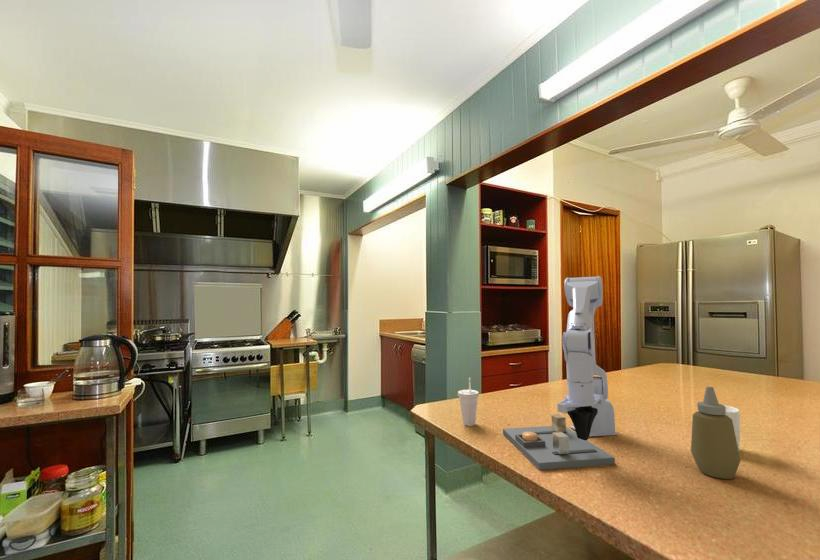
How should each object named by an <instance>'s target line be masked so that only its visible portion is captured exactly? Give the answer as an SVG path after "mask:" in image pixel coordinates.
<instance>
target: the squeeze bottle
mask: <svg viewBox="0 0 820 560" xmlns="http://www.w3.org/2000/svg"><path fill="white" fill-rule="evenodd" d="M696 405H697V411H696V412H694V413H693V414H692V421H691V426H692V427H691V439H690V440H691V441H690V442H691V443H690V452H691V455H692V456H693V459H694V462H695V464H696V466H697V468H698V470H699V472H701V473H702V474H705V475H707V476H710V477H713V478H717V479H724V480H732V479H735V476H736V474H737V471H738V468H739V467H740V466H739V465H740V463H741V455H740V451H738V446H737V441H736V436H735V431H734V426H733V421H732V419H731V418H730V417H728V416H727V415H725V414H726V408H725V406H724V405H725V404H721V403H719V400H718V397H717V394H716V391H715V389H714V387H713V386H706V387H705V392H704V396H703V401H699V402H698V401H697V403H696Z"/></svg>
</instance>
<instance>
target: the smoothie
mask: <svg viewBox="0 0 820 560" xmlns="http://www.w3.org/2000/svg"><path fill="white" fill-rule="evenodd" d="M471 380H472V379H471V377H468V389H461V390H458V391H457V396H458V397H459V405H460V411H461V419H462V425H463V426H466V425H467V427H474V426H475V425H476V419H477V409H478V397H479V395H480V394H479V391H478V390H475V389H472V386H471V385H472V384H471ZM473 425H474V426H473Z"/></svg>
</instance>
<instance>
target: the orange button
mask: <svg viewBox="0 0 820 560" xmlns="http://www.w3.org/2000/svg"><path fill="white" fill-rule="evenodd" d="M522 439H523V440H524V441H525V442H528V441H537V434H536V433H534V432H523V433H522Z"/></svg>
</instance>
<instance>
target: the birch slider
mask: <svg viewBox="0 0 820 560" xmlns="http://www.w3.org/2000/svg"><path fill="white" fill-rule="evenodd" d="M551 426H552V429H553V430H555V431H556V432H566V427H567V423H566V417H565V416H564V415H562V414H560V413H556V414H555V413H554V414H551Z"/></svg>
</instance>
